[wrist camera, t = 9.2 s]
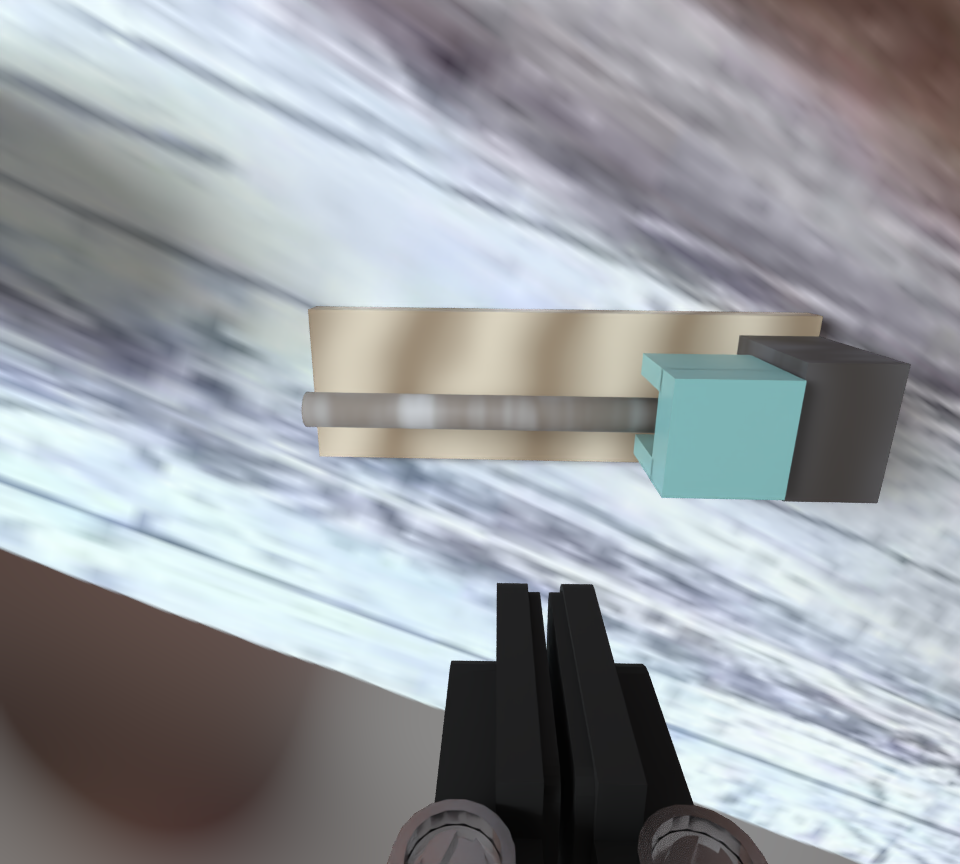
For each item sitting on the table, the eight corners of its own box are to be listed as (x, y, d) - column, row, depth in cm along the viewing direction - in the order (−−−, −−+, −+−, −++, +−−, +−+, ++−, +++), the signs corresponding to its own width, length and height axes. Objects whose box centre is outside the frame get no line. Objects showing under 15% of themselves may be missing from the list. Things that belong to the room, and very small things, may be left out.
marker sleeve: (750, 354, 28) (806, 380, 23) (735, 455, 29) (784, 500, 24) (643, 353, 28) (675, 378, 23) (633, 453, 29) (661, 497, 24)
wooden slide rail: (808, 312, 31) (916, 339, 23) (782, 455, 34) (872, 524, 26) (316, 306, 32) (255, 329, 24) (327, 447, 34) (274, 511, 26)
